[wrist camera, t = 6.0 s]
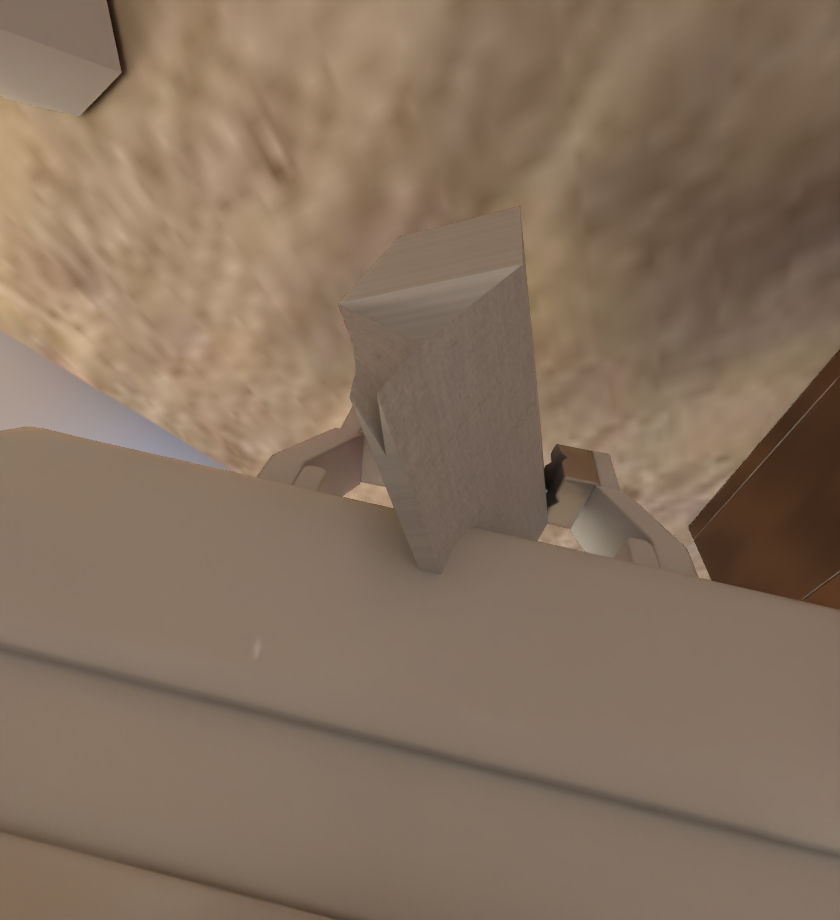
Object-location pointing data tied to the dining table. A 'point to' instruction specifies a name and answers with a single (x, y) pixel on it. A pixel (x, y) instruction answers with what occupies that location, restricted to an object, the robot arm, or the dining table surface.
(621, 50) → the dining table surface
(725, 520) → the rack
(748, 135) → the dining table surface
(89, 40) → the flask
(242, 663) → the robot arm
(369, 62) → the dining table surface
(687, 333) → the dining table surface
